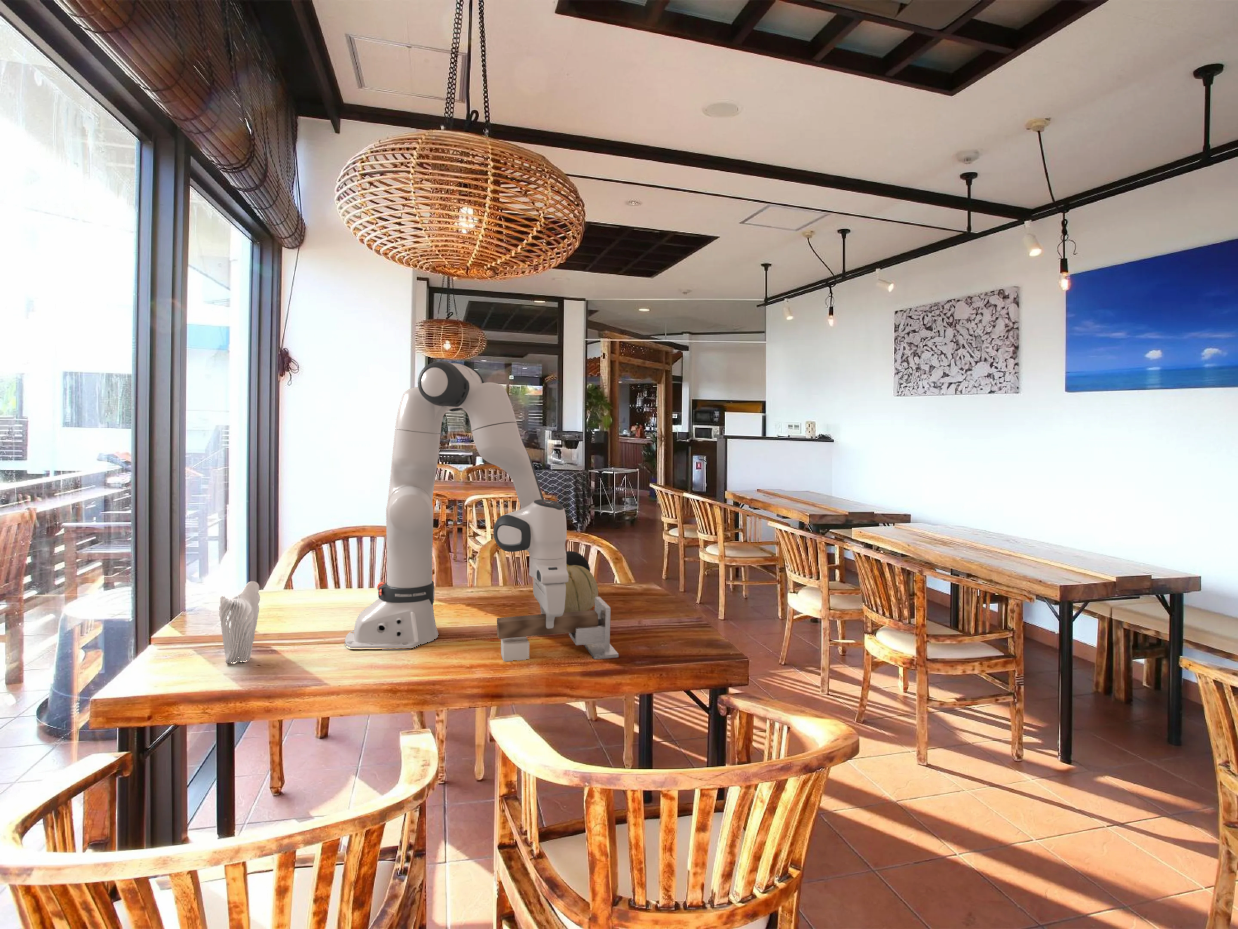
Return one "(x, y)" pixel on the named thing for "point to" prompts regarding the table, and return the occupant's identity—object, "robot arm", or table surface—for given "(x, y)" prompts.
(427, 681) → the table surface
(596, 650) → the bracket
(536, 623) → the walnut rail
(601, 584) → the table surface
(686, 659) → the table surface
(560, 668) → the table surface
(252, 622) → the shell sculpture
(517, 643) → the pale grey block
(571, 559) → the black rounded lump
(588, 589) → the cantaloupe
